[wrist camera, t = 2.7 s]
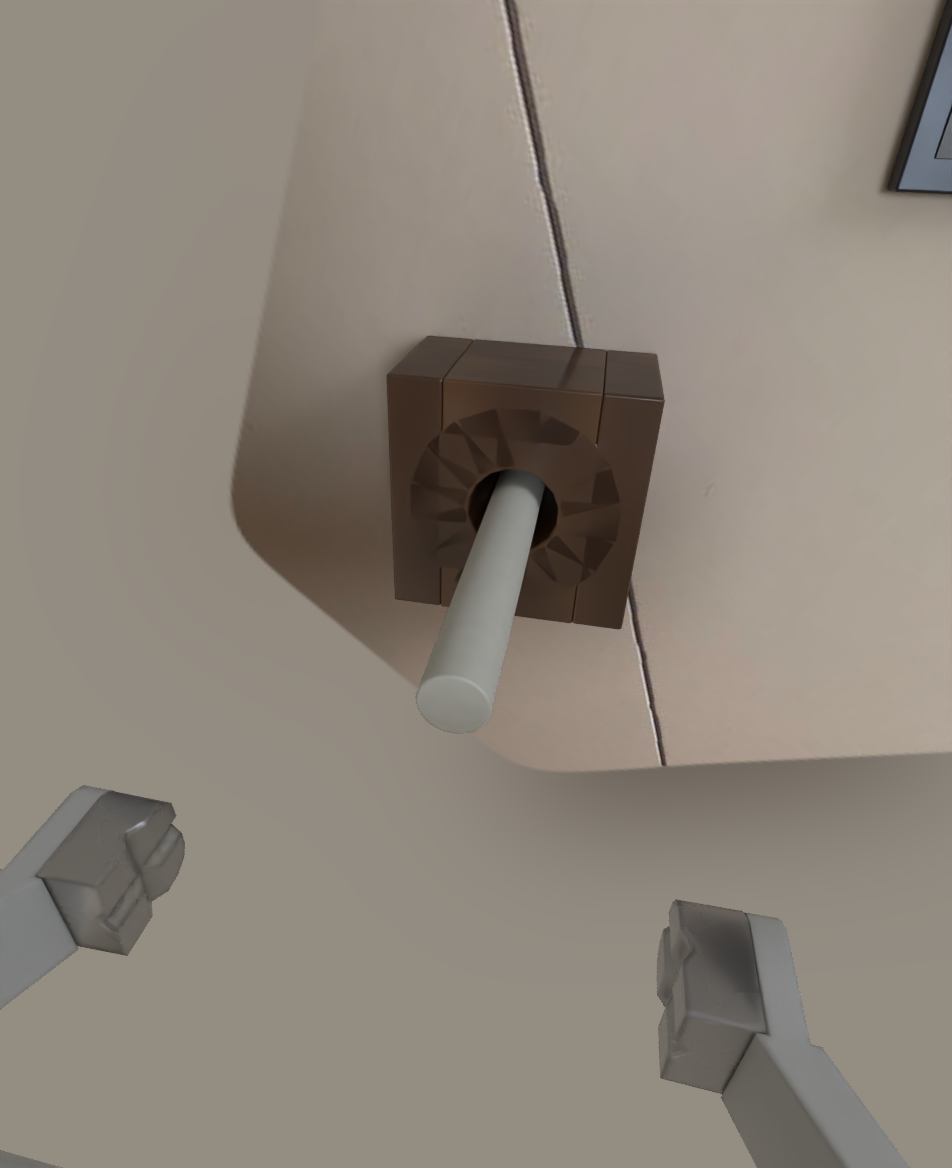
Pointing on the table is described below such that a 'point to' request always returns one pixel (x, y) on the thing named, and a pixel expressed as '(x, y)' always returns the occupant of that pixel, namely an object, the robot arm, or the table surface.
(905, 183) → the tablet
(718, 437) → the table surface
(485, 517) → the stylus
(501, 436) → the pen block
